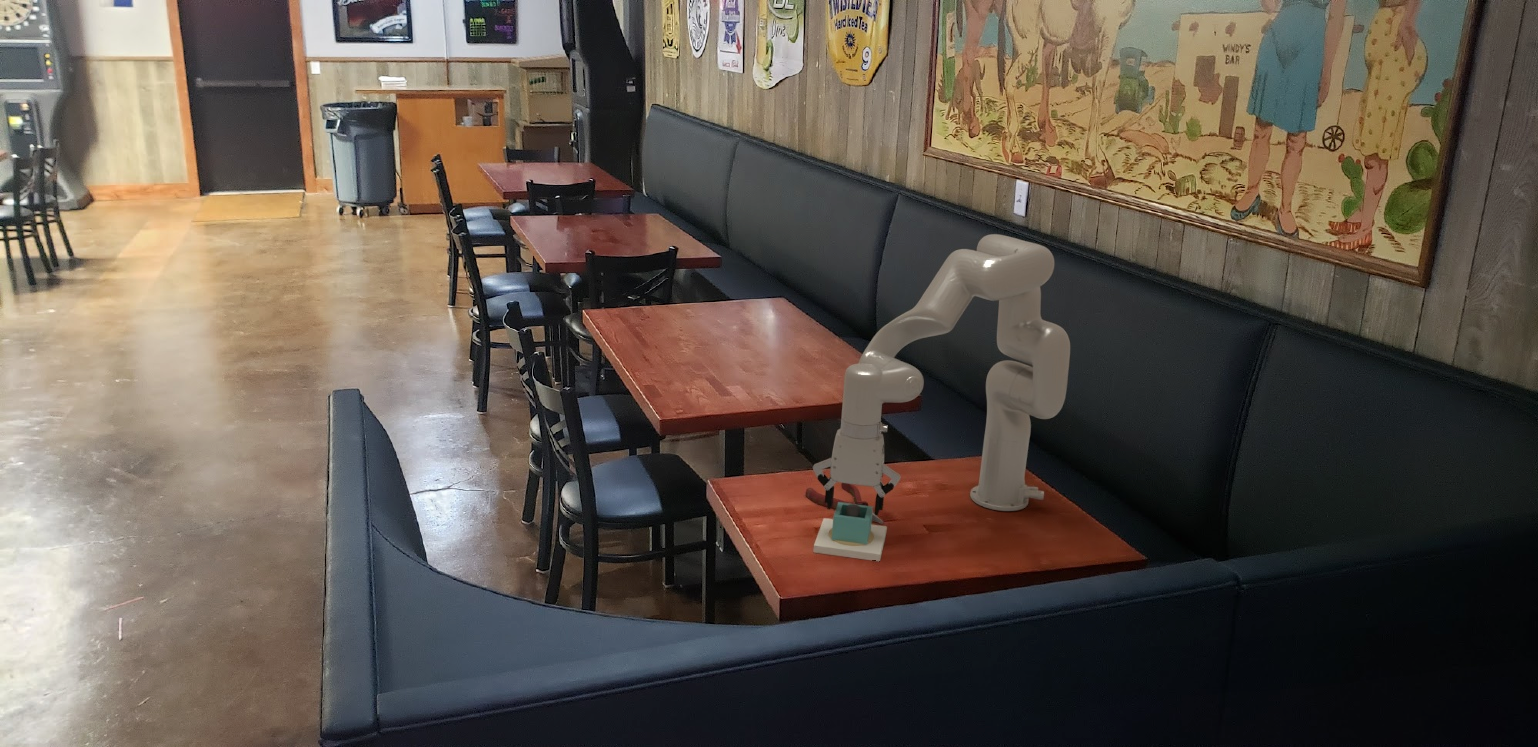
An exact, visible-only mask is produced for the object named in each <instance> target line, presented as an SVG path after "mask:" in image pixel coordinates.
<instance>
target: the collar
mask: <svg viewBox="0 0 1538 747" xmlns="http://www.w3.org/2000/svg"><path fill="white" fill-rule="evenodd" d="M848 505H851V504H849V503H841V502H838V505H837V508H836V510H835V509H834V514H833V518H832V519H833V529H832V540H839V541H846V542H854V543H861V544H867V543H868V539H869V535H870V531H871V524H872V525H873V521H872V513H874V510H873V509H874V506H871V505H868V506H865V505H858V506H860V516H859V517H852V516H846V513H847V506H848ZM854 505H857V504H855V503H854Z"/></svg>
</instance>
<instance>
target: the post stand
mask: <svg viewBox="0 0 1538 747" xmlns="http://www.w3.org/2000/svg"><path fill="white" fill-rule="evenodd" d="M854 504H855V503H854ZM854 504H851V505H848V506H847V513H846V516H852V517H859V516H860V506H858V505H854ZM832 529H833V518H828V517H827V518H825V517H823V519H822V522H821V525H820V528H819V529H818V532H817V536H816V539H815V541H814V544H813V550H812V551H813V552H812V553H815V554H816V553H817V554H822V555H831V556H837V557H845V558H851V559H852V558H853V559H858V560H859V559H860V560H866V561H872V560H876V561H875V562H879V561H880V562H881V558H882V553H883V549H884V545H885V541H886V535H887V533H888V532H887V530H888V526H886V525H879V524H873V523H872V524H871V531H870V535H869V539H868V543H867V544H861V543H854V542H846V541H839V540H832Z"/></svg>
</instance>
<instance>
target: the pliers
mask: <svg viewBox="0 0 1538 747" xmlns="http://www.w3.org/2000/svg"><path fill="white" fill-rule="evenodd" d="M840 486H841V490H844V491H846V492H847V493H849V494H850V495H851V496H852V498H853V497H854V498H853V501H854V502H852V501H851V502H849V501H847V500H842V499H839V498H835V497H833V505H832V508H831V509H833V510H834V511H835V510H836V508H837V505H838V502H841V503H849V504H857V505H865V506H869V502H868V501H865V500H862V496H861V492H860V491H859V490H860V489H859V488H857V486H856V485H855V484H847V483H841V485H840ZM805 496H806V498H807V499H809V500H810V501H811V502H813V503H814V504H817V505H819V506H822V507H825V508H827V506H828V503H825V495H824V494H821V493H820V492H817V491H816V490H815V489H814V488H813V487H807V488H806V490H805ZM874 513H875V512H873V513H872V522H876V523H879V524H883V525H884V524H885V522H884V521H883V520H882V519H881V518H880V517H878V516H877V515H874Z"/></svg>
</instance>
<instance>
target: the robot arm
mask: <svg viewBox="0 0 1538 747" xmlns="http://www.w3.org/2000/svg"><path fill="white" fill-rule="evenodd" d="M1054 269H1055V258H1054V255H1053V253H1052V252H1051V251H1050V249H1049V248H1047V247H1046V246H1044V245H1041V244H1040V243H1039V244H1038V243H1035V242H1031V241H1027V240H1026V241H1025V240H1022V239H1019V238H1016V237H1013V236H1012V237H1011V236H1007V235H1004V234H999V233H998V234H997V233H993V234H987V235H984V236H983V237H982V238H980V240H979V241H978V244H977V247H976V250H974V249H969V248H961V249H957V250H954V251H952V252H951V253H950V254H949V255H948V256H947V258H946V259H945V261H944V262H943V263H942V265H941V267H940V268H939V270H938V271H937V273H936V274H935V276H934V277H933V279H932V281H931V282H930V283H929V285H928V287H927V288H926V290H925V291H924V292H923V294H922V296H921V297H920V299H919V301H918V302H917V303H916V305H915V306H914V307H912V309H909V310H908V311H905V312H904V313H901V315H899V316H897V317H895V318H894V319H892V320H891V321H890V322H888V323H887V324H885V325H884V326H882V327H881V328H880V329H879V330H878V331H876V333H875V335H873V337H872V339H871V341H869V343H868V344H867V346H866V348H865V349H864V351H863V353H862V354H861V357H860V358H859V361H858V363H853V364H851V365H849V366H848V367H847V368H846V370H845V373H844V382H843V383H844V384H843V391H842V392H843V394H842V395H843V396H842V407H841V408H842V409H841V420H840V422H841V423H840V428H839V429H837V431H836V434H835V437H834V441H833V448H832V454H831V457H829V458H827V459H825V460H822V461H819V462H817V463H814V464H813V466H812V469H813V472H814V474H815V476H816V477H817V478H816V480H817V481H818V482H819V483H820V485H822V486H823V488H824V490H825V503H828V506H827V507H826V509H827V510H831V509H832V505H833V498H835V497H834V494H835V486H834V485H835V484H836V483H841V484H842V483H847V484H852V485H854V486H864V487H872V488H873V489H874V490H875V492H876V495H875V502H874V512H873V513H874V515H876V516H877V517H878V516H879V514H880V511H883V509H884V502H885V500H884V499H885V496H887V494H888V493H889V492H891V491H893V490H894V488H895V487H896V485H897V484H898V483H899V482H900V480H901V477H902V476H901V475H900V473H898V472H897V471H895V470H893V469H892V468H891V467H890V466H888V465H887V464H885V441H884V440H885V439H884V434H883V433H888V425H887V424H884V423H883V422H881V421H882V419H881V418H882V409H883V408H882V407H883V406H882V405H883V404H884V403H906V402H907V403H908V402H910V401H912V400H915V399H916V398H917V397H918V396H919V395H920V394H921V393H922V391H923V389H924V382H925V381H924V376H923V374H922V372H921V371H920V370H919V369H918V368H916V367H915V366H913V365H911V364H909V363H907V362H904V361H901V360H900V359H897V358H895V357H896V356H897V354H898V353H899V352H900V351H901V350H902V349H903V348H904V347H905V346H907V345H908V344H911V343H913V342H914V341H917V340H921V339H924V338H929V337H935V336H939V335H945V334H947V333H950V332H951V331H952V330H953V329H954V328H955V326H956V324H957V322H958V321H959V319H960V318H962V315H963V313H964V311H965V310H966V309H967V307H968V306H969V304H970V303H971V301H972V300H973V298H974V297H978V298H981V299H984V300H988V301H992V302H996V301H998V316H997V327H996V345H997V348H998V350H999V352H1001V353H1002V354H1003V355H1004V356H1007V357H1009V358H1011V359H1014V360H1002V361H998V362H996V363H995V364H993V365H992V366H991V368H990V369H989V371H988V373H987V376H986V381H985V395H986V421H985V422H986V423H985V431H984V436H983V437H984V438H983V445H982V455H981V463H980V471H979V480H978V485H975V486H974V487H972V488H971V489H970V495H969V496H970V499H971V500H972V501H973V502H974V503H976V504H977V505H978V506H981V507H983V508H986V509H989V510H993V511H994V510H995V511H999V512H1016V511H1020V510H1023V509H1024V508H1026V507H1027V506H1028V504H1029V499H1035V500H1039V501H1041V500H1042V501H1043V500H1044V496H1045V491H1044V490H1039V487H1038V486H1028V484H1026V479H1025V475H1026V467H1027V458H1028V453H1029V451H1028V450H1029V443H1030V437H1031V432H1032V431H1031V430H1032V429H1031V428H1032V424H1031V423H1032V422H1031V419H1030V418H1031V417H1034V418H1037V419H1041V420H1049V419H1051V418H1054V417H1056V416H1057V415H1058V414H1059V413H1060V411H1061V410H1062V409H1063V405H1064V404H1065V400H1066V395H1067V388H1068V378H1069V377H1068V376H1069V368H1070V356H1071V342H1070V337H1069V335H1068V333H1067V331H1065V329H1064V328H1063V327H1062V326H1060V325H1058V324H1056V323H1053V322H1050V321H1048V320H1047V321H1046V320H1044V319H1042V316H1041V309H1042V308H1041V304H1042V303H1041V302H1042V301H1041V300H1042V290H1041V287H1042V286H1043V285H1044V284H1045V283H1046V282H1047V281H1049V279H1050V278H1051V277H1052V275H1053V272H1054ZM1015 360H1017V361H1015ZM1030 416H1031V417H1030ZM827 468H830V470H829V477H828V476H827V475H826V473H824V471H823V470H824V469H827ZM884 475H885V476H886V477H889V478H890V481H888V482H887V483H886V484H884V483H883V481H882V479H883V476H884Z"/></svg>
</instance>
